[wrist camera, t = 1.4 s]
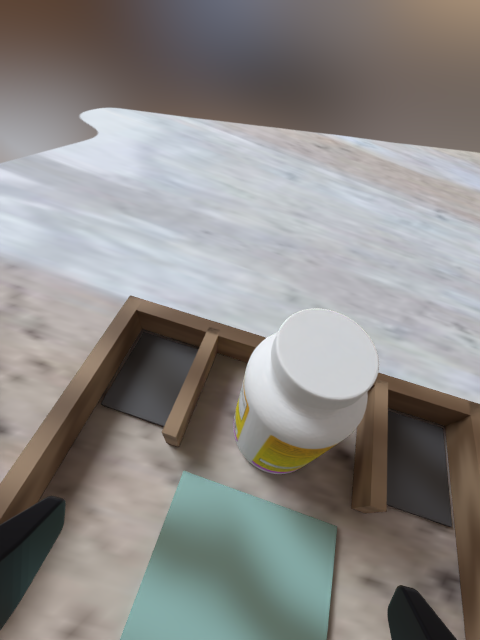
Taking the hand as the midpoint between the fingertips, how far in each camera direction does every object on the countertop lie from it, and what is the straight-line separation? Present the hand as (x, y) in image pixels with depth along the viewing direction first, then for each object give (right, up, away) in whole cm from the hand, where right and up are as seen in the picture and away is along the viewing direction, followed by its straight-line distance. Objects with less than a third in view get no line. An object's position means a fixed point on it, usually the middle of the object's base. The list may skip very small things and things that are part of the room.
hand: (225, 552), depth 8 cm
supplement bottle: (+3, -3, +16) cm, 16 cm away
